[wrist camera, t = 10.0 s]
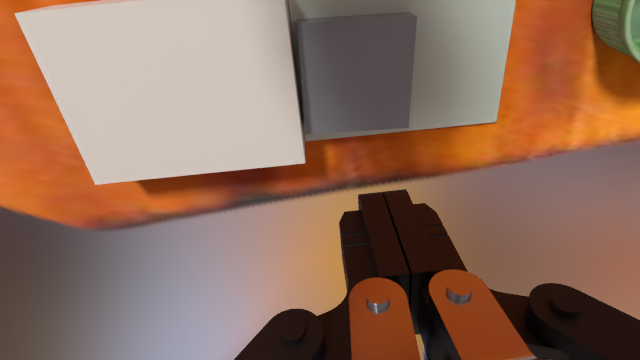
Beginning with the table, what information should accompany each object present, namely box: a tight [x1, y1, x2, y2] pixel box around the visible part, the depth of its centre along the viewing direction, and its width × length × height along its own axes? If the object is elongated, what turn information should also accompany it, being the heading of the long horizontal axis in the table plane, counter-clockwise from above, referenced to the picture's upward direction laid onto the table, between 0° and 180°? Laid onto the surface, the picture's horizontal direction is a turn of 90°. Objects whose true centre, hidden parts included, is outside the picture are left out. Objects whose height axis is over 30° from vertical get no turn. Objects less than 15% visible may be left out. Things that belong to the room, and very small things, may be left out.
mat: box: [288, 0, 516, 141], centre depth 28 cm, size 16×12×1 cm
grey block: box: [297, 12, 417, 135], centre depth 28 cm, size 8×8×2 cm
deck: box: [15, 0, 305, 185], centre depth 27 cm, size 16×12×4 cm
